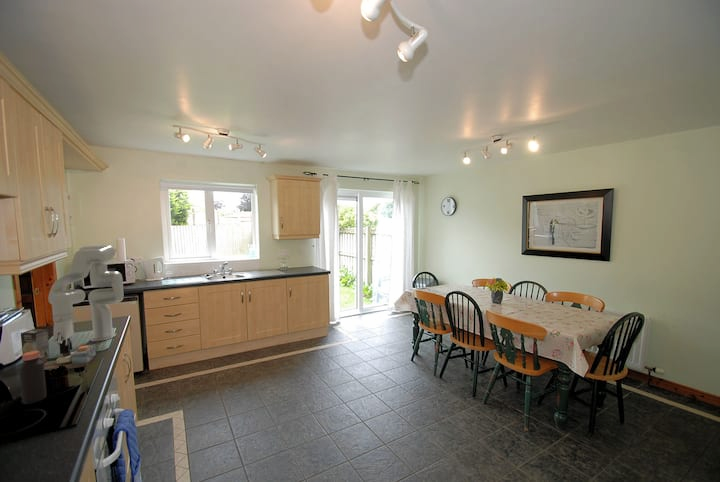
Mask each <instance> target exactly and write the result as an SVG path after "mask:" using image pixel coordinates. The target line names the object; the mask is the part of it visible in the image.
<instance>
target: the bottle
mask: <svg viewBox="0 0 720 482" xmlns="http://www.w3.org/2000/svg"><path fill="white" fill-rule="evenodd" d="M21 358H22V362H23V364H22V365H20V367H19V376H20V385H21V394H22V395H21V397H22V404H24V405H32V404H35V403H38V402H41V401H43V400H44V399H46V398H47V384H46V383H47V382H46V373H45V371H44V362H43V361H41V360H39V358H40V352H39V351H31V352H27V353H24V354H23V353H22V354H21Z"/></svg>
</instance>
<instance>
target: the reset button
mask: <svg viewBox="0 0 720 482" xmlns="http://www.w3.org/2000/svg"><path fill="white" fill-rule="evenodd" d="M89 345H90V344H88V345H81V346H79V347H78V348H77V349H78V351H83V350H88V349H89Z"/></svg>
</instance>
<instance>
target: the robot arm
mask: <svg viewBox="0 0 720 482" xmlns="http://www.w3.org/2000/svg"><path fill="white" fill-rule="evenodd" d="M115 249H116V248H114V246H112V245H110V244H109V245H87V246H82V247H80V248H79V250H77V251H76V252H75V253H74V255H73V258H72V260H71V262H70V263H71V264H70V266H69V269H68V271H67V272H66V273H65V274H63V275H62V276H60V277H59V278H58V279H56V281H54V283H53V284H52V285H51V288H50V290H49V293H48V297H47V300H48V303H50V304H51V310H52V321H53V329H52V331H53V332H52V333H53V342H57V343H56V344H57V345H58V346H59V354H60V355H62V354H64V353H68V352H69V348H68V345H67V339H69V341H70V351H72V350H73V343H72V342H73V341H72V338H73V336H74V334H75V330H74V329H75V327H74V320H73V319H74V308H73V305H76V304H80V303H82V302H83V301H84V300H85V298H86V293H85V291H84V290H83V289H65V288H66V287H68V286H69V285H71V284H73V283H75V282H79V281H81V280H82V279H85V278H87V277H88V276H89V279H90V280H89V281H90V286H92V287H93V288H98V289H93V290H92V291H90V292H89V293H88V297H87V299H88V303H89V305H90V311H91V323H92V334H93V336H91V337H90V340H89V341H91V342H101V341H106V340H110V339H113V338H115V337H116V335H117V333H116V332H114V331H113V319H112V309H111V307H110V306H109V305H110V304H118V303H120V302H121V303H122V301H123V300H124V296H125V295H124V281H123V280H124V278H123V274H122V273H121V272H119V271H108V264H107V263H106V262H108V261H110V260H112V259H113V258H114V257H115V254H116V250H115ZM107 287H110V288H107ZM50 304H49V305H50ZM63 341H65V342H63Z"/></svg>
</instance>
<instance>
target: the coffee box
mask: <svg viewBox="0 0 720 482" xmlns="http://www.w3.org/2000/svg"><path fill="white" fill-rule="evenodd" d="M20 339H21V351H22V354H24V353H27V352H31V351H39V352H40V356H42V355H46V360H47V359H50V357H51V355H50V343H49V342H50V341H49V331H48V329H42V328H41V329H39V328H38V329H37V328H33V329H30V330H27V331H26V330H25V331H23V332H20Z"/></svg>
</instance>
